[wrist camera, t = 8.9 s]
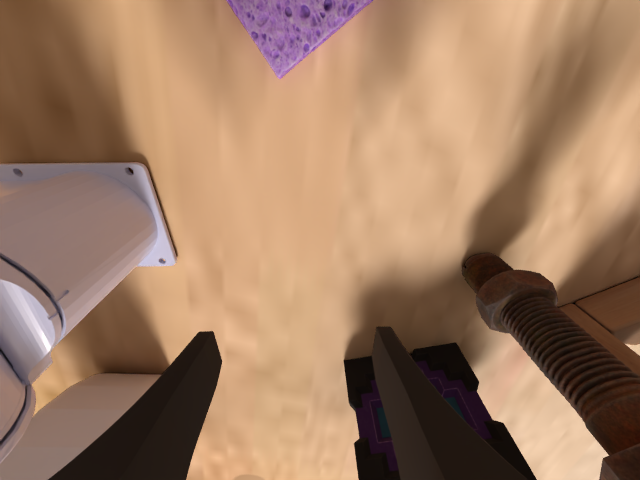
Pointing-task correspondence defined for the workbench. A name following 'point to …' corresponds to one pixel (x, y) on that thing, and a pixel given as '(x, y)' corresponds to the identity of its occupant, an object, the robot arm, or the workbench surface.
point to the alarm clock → (72, 424)
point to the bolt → (564, 357)
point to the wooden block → (612, 320)
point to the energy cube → (456, 388)
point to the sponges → (292, 26)
